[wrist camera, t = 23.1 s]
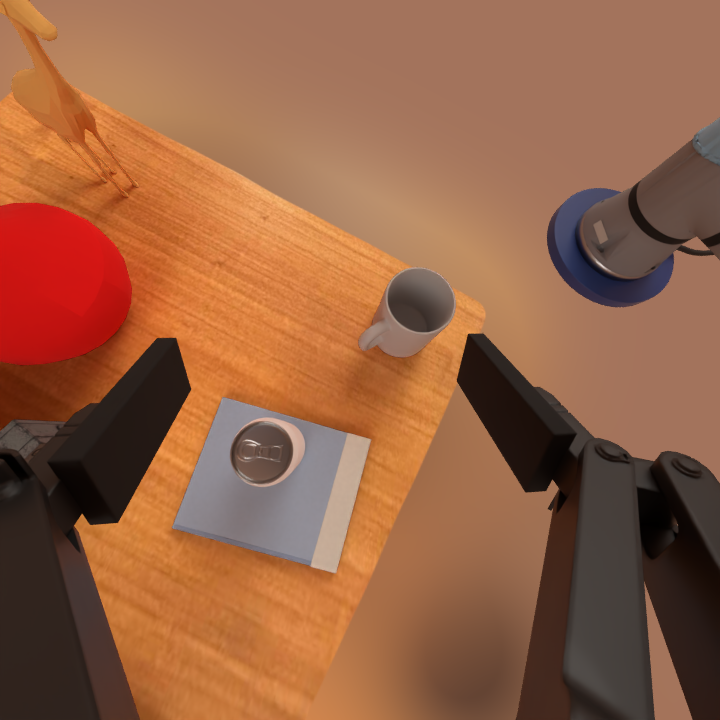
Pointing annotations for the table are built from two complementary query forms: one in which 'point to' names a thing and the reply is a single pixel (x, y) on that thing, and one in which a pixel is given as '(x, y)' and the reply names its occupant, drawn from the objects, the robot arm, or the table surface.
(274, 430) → the can
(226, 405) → the blue flat rectangular slab
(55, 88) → the giraffe
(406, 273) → the mug
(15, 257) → the vase
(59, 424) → the camera
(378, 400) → the table surface
